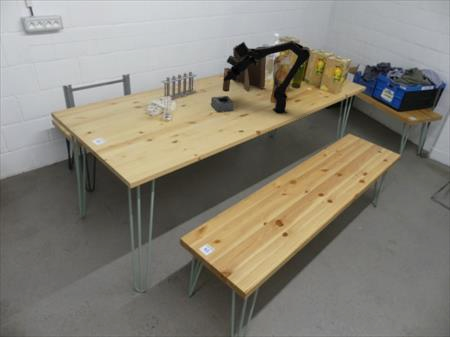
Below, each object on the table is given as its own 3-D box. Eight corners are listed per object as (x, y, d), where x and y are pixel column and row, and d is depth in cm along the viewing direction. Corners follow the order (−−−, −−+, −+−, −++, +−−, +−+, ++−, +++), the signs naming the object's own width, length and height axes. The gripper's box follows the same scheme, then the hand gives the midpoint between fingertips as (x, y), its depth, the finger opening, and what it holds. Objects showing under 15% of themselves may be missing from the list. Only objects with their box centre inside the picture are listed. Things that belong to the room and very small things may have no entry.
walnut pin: (230, 91, 216) (232, 69, 209) (225, 92, 214) (226, 70, 207) (226, 88, 218) (228, 67, 211) (221, 89, 216) (223, 68, 209)
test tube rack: (165, 101, 212) (165, 79, 205) (160, 99, 214) (160, 77, 207) (196, 92, 228) (197, 71, 221) (191, 90, 231) (192, 69, 224)
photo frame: (237, 79, 254) (241, 43, 241) (264, 87, 246) (270, 50, 232) (226, 85, 244) (229, 47, 230) (254, 93, 235) (259, 55, 221)
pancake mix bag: (264, 101, 226) (270, 56, 210) (281, 94, 238) (289, 51, 223) (272, 104, 222) (280, 59, 207) (290, 97, 234) (298, 54, 219)
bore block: (233, 110, 209) (234, 102, 206) (217, 112, 205) (217, 103, 202) (226, 103, 216) (227, 96, 214) (211, 105, 213) (211, 97, 210)
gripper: (239, 48, 210) (220, 64, 218) (232, 56, 195) (211, 72, 203) (251, 63, 213) (231, 78, 221) (244, 72, 198) (223, 88, 206)
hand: (224, 79), depth 213 cm, fingers closed on walnut pin, 4 cm apart
